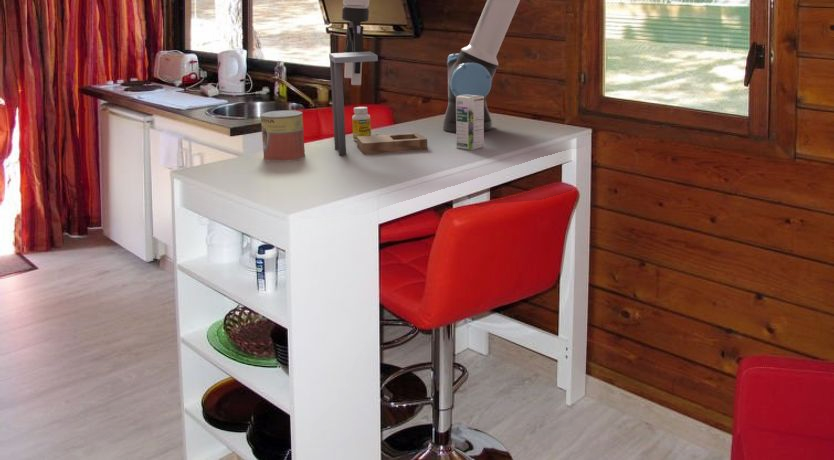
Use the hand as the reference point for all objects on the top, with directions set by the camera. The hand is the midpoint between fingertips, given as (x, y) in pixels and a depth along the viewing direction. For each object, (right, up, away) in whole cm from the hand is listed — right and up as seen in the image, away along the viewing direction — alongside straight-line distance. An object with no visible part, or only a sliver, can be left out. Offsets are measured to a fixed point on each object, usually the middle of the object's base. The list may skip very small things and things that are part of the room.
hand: (352, 81), depth 269 cm
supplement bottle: (+3, -17, +4) cm, 18 cm away
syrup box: (+34, -20, -11) cm, 41 cm away
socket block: (+12, -20, -9) cm, 25 cm away
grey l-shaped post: (+2, -21, -11) cm, 24 cm away
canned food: (-17, -24, -17) cm, 34 cm away
